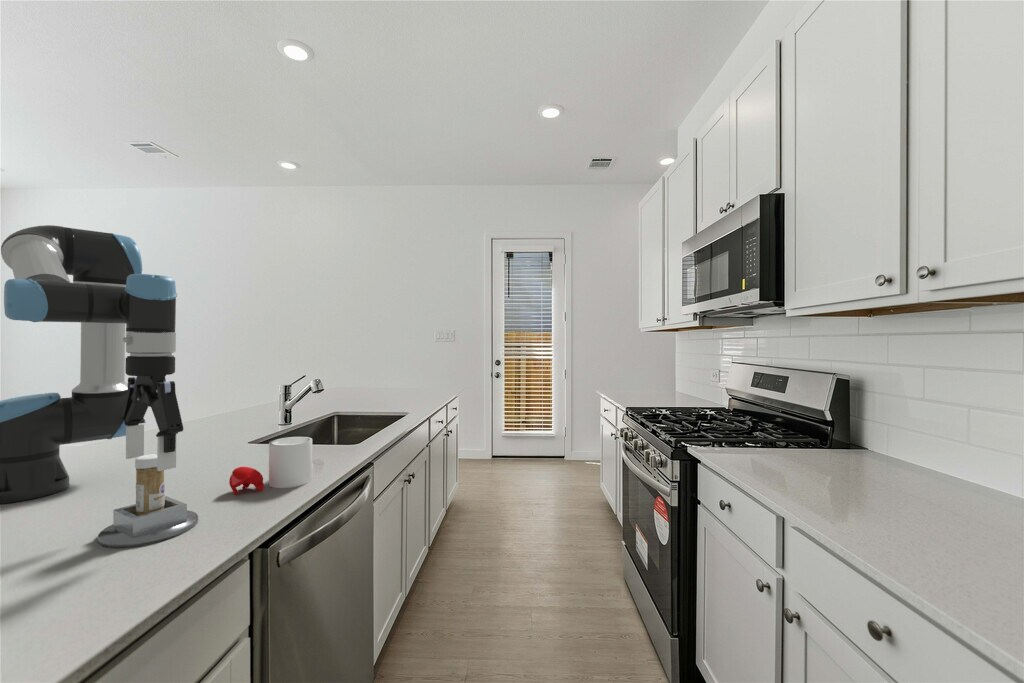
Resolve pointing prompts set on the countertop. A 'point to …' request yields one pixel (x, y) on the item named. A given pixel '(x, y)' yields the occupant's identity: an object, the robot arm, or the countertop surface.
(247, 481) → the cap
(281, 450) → the mug
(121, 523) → the square hole disc
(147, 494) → the sprinkles bottle
